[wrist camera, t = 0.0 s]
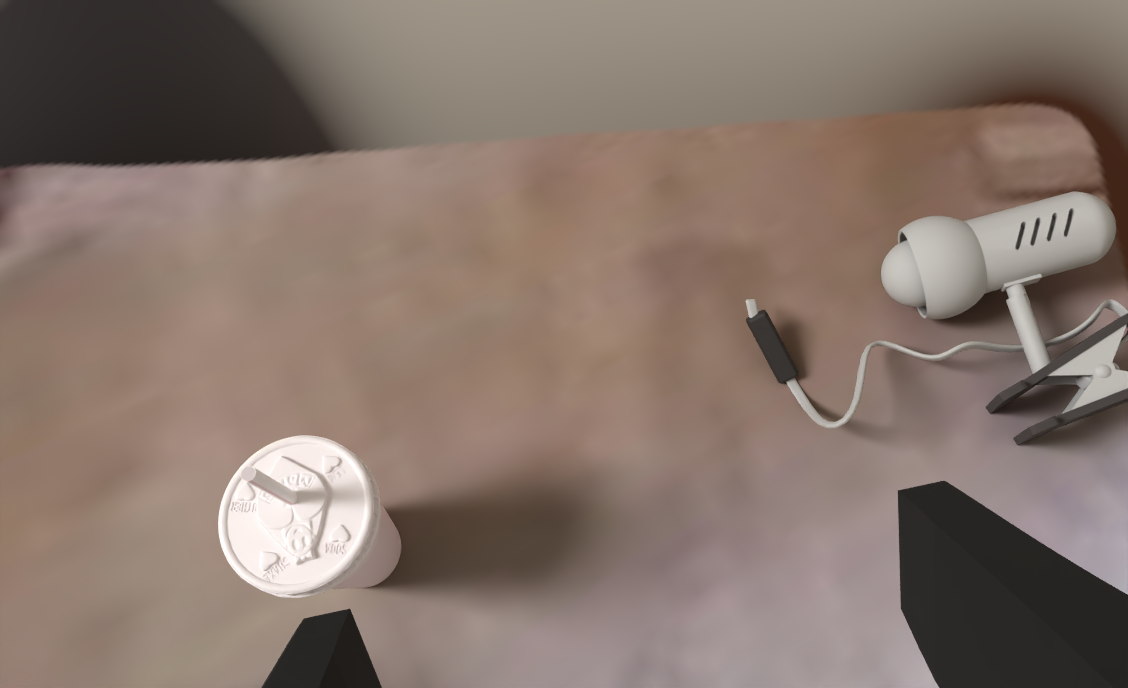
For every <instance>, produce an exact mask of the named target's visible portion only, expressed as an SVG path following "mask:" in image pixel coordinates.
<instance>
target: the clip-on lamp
mask: <svg viewBox="0 0 1128 688" xmlns="http://www.w3.org/2000/svg"><path fill="white" fill-rule="evenodd" d="M1115 234H1116V223H1115V218H1114V216H1113V214H1112V212H1111V210H1110V209H1109V207H1108V206H1107V205H1106V204H1105V203H1104V202H1103V201H1102V200H1100V199H1099V198H1097V197H1095V196H1093V195H1091V194H1087V193H1082V192H1070V193H1066V194H1063V195H1059V196H1055V197H1051V198H1048V199H1044V200H1040V201H1037V202H1033V203H1029V204H1026V205H1022V206H1018V207H1014V208H1011V209H1007V210H1003V211H1000V212H996V213H992V214H989V215H985V216H981V217H977V218H974V219H970V220H966V221H961V220H958V219H955V218H951V217H947V216H930V217H925V218H921V219H918V220H915V221H913V222H911V223H909V224H908V225H906V226H905V227H903V228H902V229H901V230H900V231H899V232H898V245H896V246H895V247H894V248H893V249H892V250H891V251H890V252H889V253H888V254H887V256H886V258H885V260H884V262H883V264H882V269H881V279H882V283H883V286H884V288H885V290H886V291H887V293H888V294H889V295H890V296H891V297H892V298H893V299H894V300H896V301H897V302H899V303H901V304H903V305H907V306H912V307H917V309H918V311H919V313H920V315H921V316H922V317H923V318H924V319H945V318H950V317H953V316H956V315H958V314H960V313H962V312H964V311H966V310H968V309H969V308H971V307H972V306H973V305H975V304H976V303H977V302H978V301H979V300H980V299H981V298H982V296H983V295H984V294H985V293H988V292H992V291H995V290H999V289H1001V291H1002V292H1004V291H1007V294H1008V297H1009V299H1007V300H1006V302H1007V305H1008V308H1009V310H1010V313H1011V316H1012V319H1013V321H1014V324H1015V327H1016V330H1017V332H1018V335H1019V338H1020V341H1021V343H1022V345H1002V344H994V343H988V342H980V341H970V342H966V343H963V344H960V345H958V346H956V347H954V348H952V349H950V350H948V351H947V352H944V353H941V354H938V355H928V354H922V353H919V352H915V351H913V350H910V349H907V348H905V347H902V346H900V345H897V344H894V343H891V342H888V341H875V342H873V343H871V344H869V345H867V346H866V348H865V350H864V352H863V354H862V356H861V360H860V365H859V369H858V376H857V382H856V388H855V393H854V398H853V401H852V404H851V406H850V409H849V411H848V412H847V413H846V415H845V416H844V417H843V418H842V419H840V420H838V421H836V422H829V421H827V420H825V419H824V418H823V417H822V416H821V415H820V414H818V412H817V411H816V410H815V409H814V407H813V406H812V405H811V403H810V401H809V400H808V398H807V397H806V395H805V394H804V392H803V391H802V389H801V387H800V386H799V384H798V382H797V381H796V379H795V377H796V376H798V370H797V368H796V366H795V365H794V363H793V361H792V359H791V357H790V355H789V353H788V351H787V349H786V348H785V346H784V344H783V342H782V340H781V338H780V336H779V334H778V332H777V331H776V329H775V327H774V325H773V323H772V321H771V319H770V317H769V315H768V314H767V312H766V311H765V310H761V311H759V312H758V308H757V303H756V300H755V299H749V300H746V305H747V309H748V314H749V317H748V318H747V319H746V322H747V324H748V326H749V328H750V330H751V331H752V333H753V335H754V337H755V339H756V341H757V343H758V345H759V347H760V348H761V350H762V352H763V354H764V356H765V358H766V360H767V362H768V363H769V365H770V367H771V369H772V371H773V373H774V375H775V377H776V378H777V380H778V382H779V383H784V382H786V383H787V385H788V387H789V388H790V390H791V391H792V393H793V394H794V396H795V398H796V399H797V401H798V402H799V403H800V405H801V406H802V408H803V409H804V411H805V412H806V413H807V414H808V415H809V416H810V418H811V419H812V420H814V421H815V422H816V423H817V424H819V425H821V426H823V427H826V428H838V427H840V426H842V425H844V424H846V423H847V422H848V421H849V420H850V418H851V417H852V416H853V415H854V413H855V411H856V409H857V407H858V404H859V402H860V398H861V394H862V389H863V384H864V377H865V370H866V364H867V358H868V355H869V352H870V350H871V348H873V347H874V346H884V347H888V348H891V349H895V350H897V351H900V352H903V353H905V354H908V355H911V356H914V357H917V358H921V359H924V360H931V361H940V360H944V359H947V358H950V357H951V356H953V355H955V354H957V353H959V352H961V351H963V350H967V349H984V350H990V351H997V352H1025V354H1026V357H1027V360H1028V363H1029V365H1030V368H1031V371H1032V375H1031V376H1029V377H1028V378H1026V379H1025V380H1022V381H1020V382H1018V383H1016V384H1015V385H1013V386H1011V387H1009V388H1008V389H1006V390H1004V391H1003V392H1001V393H1000V394H998V395H997V396H996V397H995V398H994V399H993V400H992V401H991V402H990V403H989V404H988V405H987V406H986V409H987V410H988V411H989V413H990V414H991V413H993V412H995V411H996V410H998V409H1000V408H1002V407H1003V406H1005V405H1007V404H1009V403H1010V402H1012V401H1013V400H1014V399H1016V398H1017V397H1019V396H1020V395H1022V394H1024V393H1025V392H1027V391H1028V390H1030V389H1031V388H1033V387H1034V386H1036V385H1078V386H1079V387H1080V389H1079V390H1078V391H1077V393H1076V394H1075V396H1074V397H1073V398H1072V400H1071V401H1070V403H1069V404H1068V406H1067V407H1066V408H1065V410H1064V411H1063V413H1062V414H1060V415H1058V416H1053V417H1051V418H1049V419H1046V420H1044V421H1042V422H1040V423H1037V424H1035V425H1033V426H1031V427H1029V428H1027V429H1026V430H1024V431H1023V432H1021V433H1020V434H1019V435H1017V436H1016V437H1014V438H1013V439H1014V440H1015V442H1016V444H1017V445H1019V444H1022V443H1024V442H1026V441H1029V440H1031V439H1033V438H1036V437H1038V436H1040V435H1042V434H1044V433H1045V432H1048V431H1051V430H1053V429H1056V428H1059V427H1061V426H1064V425H1067V424H1069V423H1072V422H1075V421H1077V420H1080V419H1083V418H1085V417H1088V416H1090V415H1093V414H1096V413H1098V412H1101V411H1104V410H1106V409H1109V408H1112V407H1114V406H1117V405H1120V404H1122V403H1125V402H1128V371H1123V370H1120V368H1119V366H1118V365H1117V364H1116V363H1114V362H1113V359H1114V356H1115V354H1116V351H1117V349H1118V348H1119V347H1121V346H1122V345H1123V344H1124V343H1125V342H1127V341H1128V331H1127V334H1126V335H1125V336H1124V337H1123V338H1122V336H1123V333H1124V330H1125V328H1126V327H1128V310H1127V309H1126V308H1125V307H1124V306H1122V305H1121V304H1120V303H1118V302H1117V301H1115V300H1111V299H1109V300H1105V301H1104V302H1102V304H1101V305H1100V306H1099V307H1098V308H1097V309H1096V311H1095V312H1094V313H1093V314H1092V315H1091V316H1090V317H1089V318H1088V319H1087V320H1086V321H1085V322H1084V323H1083V324H1081V325H1080V326H1078V327H1077V328H1075V329H1074V330H1072V331H1070V332H1068V333H1066V334H1064V335H1061V336H1059V337H1056V338H1053V339H1050V340H1046V341H1043V338H1042V335H1041V332H1040V330H1039V327H1038V324H1037V322H1036V319H1035V316H1034V314H1033V311H1032V308H1031V306H1030V301H1029V299H1028V296H1027V293H1026V291H1025V288H1024V286H1026V285H1030V284H1033V283H1037V282H1039V280H1040V279H1041V278H1042V277H1046V276H1049V275H1053V274H1057V273H1060V272H1064V271H1067V270H1071V269H1075V268H1078V267H1082V266H1085V265H1089V264H1093V263H1095V262H1097V261H1098V260H1100V259H1101V258H1102V257H1103V256H1104V255H1105V254H1106V253H1107V252H1108V250H1109V249H1110V247H1111V245H1112V243H1113V241H1114V239H1115ZM1104 308H1108V309H1110V310H1112V311H1114V312H1115V313H1117V314H1118V315H1119V316H1120V318H1118V319H1117V320H1115V321H1114V322H1112V323H1110V324H1109V325H1107V326H1106V327H1104V328H1102V329H1101V330H1099V331H1098V332H1096V333H1094V334H1093V335H1091V336H1090V337H1088V338H1087V339H1085V340H1084V341H1082V342H1081V343H1079V344H1078V345H1076V346H1075V347H1073V348H1072V349H1070V350H1068V351H1067V352H1065V353H1064V354H1062V355H1061V356H1059V357H1058V358H1056V359H1055V360H1053V361H1052V362H1051V359H1050V357H1049V354H1048V351H1047V349H1046V347H1049V346H1052V345H1056V344H1058V343H1061V342H1064V341H1067V340H1069V339H1071V338H1073V337H1075V336H1077V335H1078V334H1080V333H1081V332H1083V331H1084V330H1086V329H1087V328H1088V327H1089V326H1090V325H1092V324H1093V322H1094V321H1095V320H1096V319H1097V318H1098V316H1099V315H1100V313H1101V312H1102V310H1103V309H1104ZM1121 338H1122V339H1121Z"/></svg>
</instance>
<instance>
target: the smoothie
mask: <svg viewBox="0 0 1128 688" xmlns="http://www.w3.org/2000/svg"><path fill="white" fill-rule="evenodd" d="M218 527H219V537H220V542H221V546H222V549H223V552H224V554H225V556H226V558H227V560H228V562H229V564H230V565H231V567H232V568H233V569H234V570H235V572H236V573H237V574H238V575H239V576H240V577H241V578H243V579H244V580H245V581H246V582H248V583H250V584H251V585H253V586H255V587H257V588H258V589H260V590H261V591H264V592H267V593H270V594H273V595H275V596H278V597H289V598H303V597H307V596H312V595H317V594H321V593H323V592H325V591H327V590H329V589H343V588H367V587H371V586H374V585H377V584H379V583H381V582H382V581H384V580H385V579H386V578H387V577H388V576H389V575H390V574H391V573H392V572H393V570H394V569H395V567H396V566H397V564H398V561H399V558H400V554H401V539H400V535H399V532H398V530H397V528H396V527H395V525H394V523H393V522H392V520H391V518H390V517H389V515H388V514H387V512H386V510H385V509H384V507H383V505H382V504H381V502H380V496H379V489H378V487H377V484H376V482H375V480H374V477H373V475H372V473H371V471H370V470H369V468H368V467H367V466H366V465H365V464H364V462H363V461H362V460H361V459H360V457H359V456H357V455H356V454H354V453H353V452H351V451H350V450H348V449H347V448H345V447H344V446H342V445H340V444H338V443H336V442H334V441H332V440H329V439H326V438H322V437H317V436H294V437H289V438H285V439H282V440H278V441H276V442H274V443H271V444H269V445H267V446H265V447H264V448H262V449H261V450H259V451H258V452H256V453H255V454H253V455H252V456H251V457H250V458H249V459H248V460H247V461H246V462H245V463H244V464H243V465H242V466H241V467H240V468H239V469H238V471H237V472H236V473H235V475H234V476H233V478H232V479H231V481H230V483H229V485H228V487H227V489H226V491H225V493H224V496H223V499H222V502H221V506H220V512H219V522H218Z"/></svg>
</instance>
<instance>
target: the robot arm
mask: <svg viewBox="0 0 1128 688" xmlns="http://www.w3.org/2000/svg"><path fill="white" fill-rule="evenodd" d="M898 513H899V552H900V591H901V610H902V612H903V614H904V616H905V618H906V621H907V623H908V625H909V627H910V629H911V631H912V634H913V636H914V638H915V640H916V642H917V644H918V647H919V649H920V651H921V653H922V655H923V657H924V659H925V661H926V663H927V665H928V667H929V669H930V671H931V673H932V675H933V677H934V679H935V681H936V683H937V684H938V686H939V688H1128V595H1127V594H1125V593H1124V592H1122V591H1120V590H1118V589H1117V588H1115V587H1113V586H1112V585H1110V584H1108V583H1106V582H1105V581H1103V580H1101V579H1099V578H1098V577H1096V576H1094V575H1093V574H1091V573H1089V572H1088V571H1086V570H1084V569H1083V568H1081V567H1079V566H1078V565H1076V564H1074V563H1073V562H1071V561H1070V560H1068V559H1066V558H1065V557H1063V556H1061V555H1060V554H1058V553H1056V552H1055V551H1053V550H1052V549H1050V548H1048V547H1047V546H1045V545H1044V544H1042V543H1040V542H1039V541H1037V540H1036V539H1034V538H1033V537H1031V536H1029V535H1028V534H1026V533H1025V532H1023V531H1022V530H1020V529H1019V528H1017V527H1015V526H1014V525H1012V524H1011V523H1009V522H1008V521H1006V520H1005V519H1003V518H1002V517H1000V516H998V515H997V514H995V513H994V512H992V511H991V510H989V509H988V508H986V507H985V506H983V505H982V504H980V503H979V502H977V501H976V500H974V499H972V498H971V497H969V496H968V495H966V494H965V493H963V492H962V491H960V490H959V489H957V488H955V487H954V486H952V485H951V484H949V483H948V482H946V481H940V482H936V483H931V484H927V485H922V486H917V487H913V488H908V489H903V490H899V491H898ZM262 688H382V687H381V685H380V682H379V680H378V677H377V675H376V672H375V670H374V667H373V665H372V662H371V660H370V657H369V655H368V652H367V650H366V647H365V645H364V642H363V640H362V637H361V635H360V632H359V630H358V627H357V625H356V622H355V620H354V617H353V615H352V612H351V610H350V609H347V610H342V611H337V612H333V613H328V614H323V615H319V616H314V617H309V618H305V619H303V621H302V622H301V624H300V625H299V627H298V628H297V630H296V631H295V633H294V635H293V636H292V638H291V640H290V641H289V643H288V644H287V646H286V648H285V649H284V651H283V653H282V654H281V656H280V658H279V659H278V661H277V663H276V664H275V666H274V668H273V669H272V671H271V673H270V674H269V676H268V678H267V679H266V681H265V683H264V684H263V686H262Z"/></svg>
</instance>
